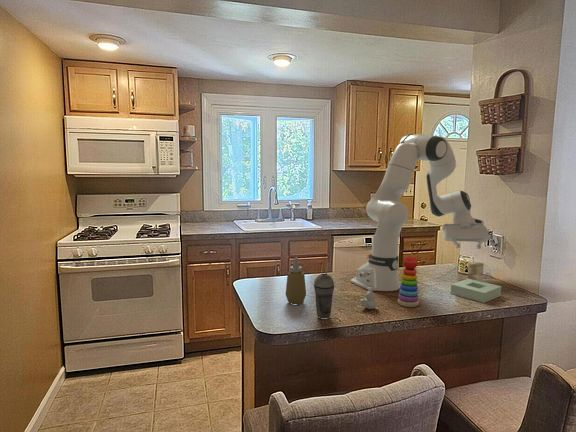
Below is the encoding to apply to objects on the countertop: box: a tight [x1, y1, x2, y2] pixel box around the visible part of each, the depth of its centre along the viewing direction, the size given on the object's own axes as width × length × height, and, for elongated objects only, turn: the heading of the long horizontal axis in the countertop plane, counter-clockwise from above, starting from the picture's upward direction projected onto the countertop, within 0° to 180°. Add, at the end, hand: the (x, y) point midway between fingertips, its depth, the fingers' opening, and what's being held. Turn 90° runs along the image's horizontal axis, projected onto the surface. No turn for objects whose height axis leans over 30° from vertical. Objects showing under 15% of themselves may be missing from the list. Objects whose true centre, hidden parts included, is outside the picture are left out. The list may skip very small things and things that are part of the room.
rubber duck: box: [360, 290, 378, 310], centre depth 146 cm, size 5×7×8 cm
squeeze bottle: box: [285, 257, 307, 305], centre depth 151 cm, size 8×8×18 cm
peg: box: [467, 261, 485, 282], centre depth 176 cm, size 4×4×10 cm
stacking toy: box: [397, 256, 420, 308], centre depth 151 cm, size 8×8×19 cm
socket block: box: [450, 278, 502, 304], centre depth 163 cm, size 14×14×4 cm
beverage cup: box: [313, 261, 335, 319], centre depth 137 cm, size 7×7×20 cm
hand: (468, 247), depth 185 cm, fingers open, 8 cm apart
